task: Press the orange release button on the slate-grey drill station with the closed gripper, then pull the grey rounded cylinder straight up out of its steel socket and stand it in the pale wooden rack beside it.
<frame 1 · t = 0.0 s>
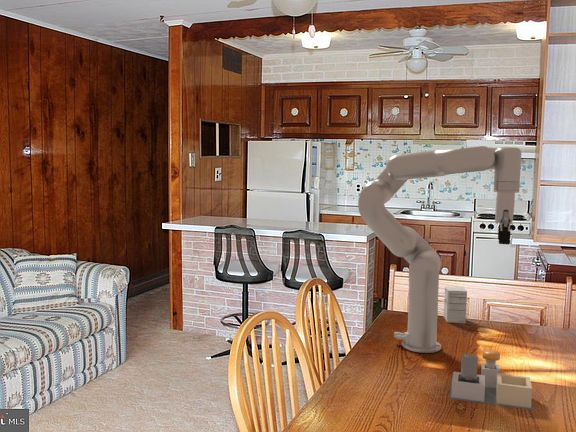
hand: (503, 241, 185), 37 cm above the table, tool pointing down, fingers open, 9 cm apart
grey rounded cylinder: (467, 393, 155), point 1 cm above the table, touching drill station
drill station: (489, 397, 156), on the table
release button: (490, 363, 160), point 8 cm above the table, slide at 0.0 cm
supplement box: (454, 320, 230), on the table
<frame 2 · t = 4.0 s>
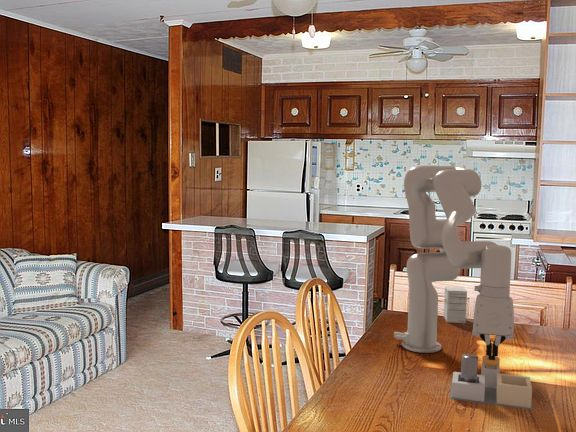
hand: (491, 358, 160), 9 cm above the table, tool pointing down, fingers closed
release button: (490, 368, 160), point 6 cm above the table, slide at 1.6 cm, touching gripper
everything else where it was.
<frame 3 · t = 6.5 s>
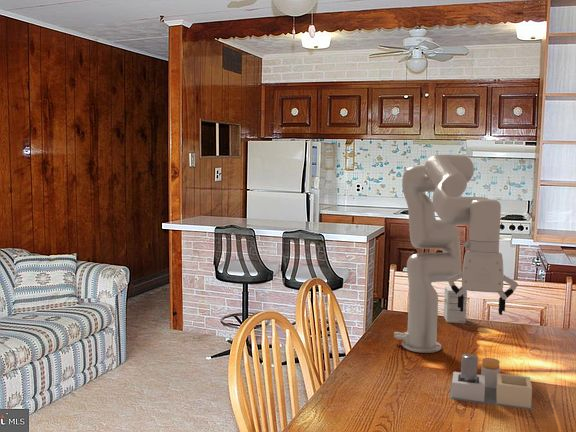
hand: (480, 312, 154), 23 cm above the table, tool pointing down, fingers open, 9 cm apart
release button: (490, 371, 161), point 5 cm above the table, slide at 2.3 cm
everything else where it was.
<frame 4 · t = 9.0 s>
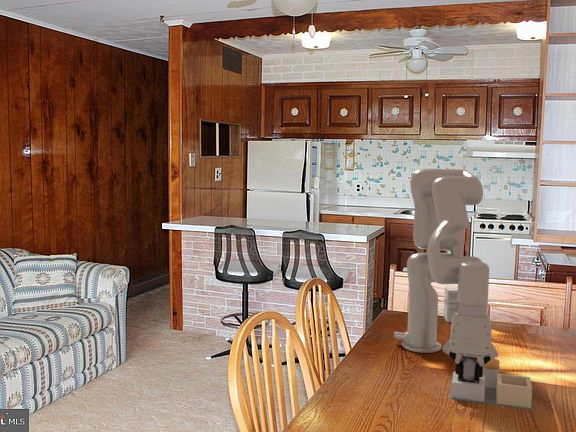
hand: (468, 377, 154), 6 cm above the table, tool pointing down, fingers closed on grey rounded cylinder, 4 cm apart
grey rounded cylinder: (467, 393, 155), point 1 cm above the table, touching drill station, gripper
everything else where it was.
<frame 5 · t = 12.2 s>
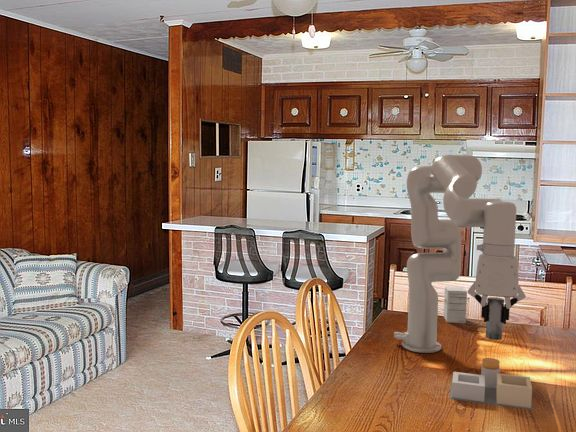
hand: (494, 320, 151), 22 cm above the table, tool pointing down, fingers closed on grey rounded cylinder, 4 cm apart
grey rounded cylinder: (493, 337, 151), point 17 cm above the table, touching gripper
everything else where it was.
when the fingers open (8 cm above the table, at t = 15.4 s): grey rounded cylinder drops 2 cm, resting on drill station.
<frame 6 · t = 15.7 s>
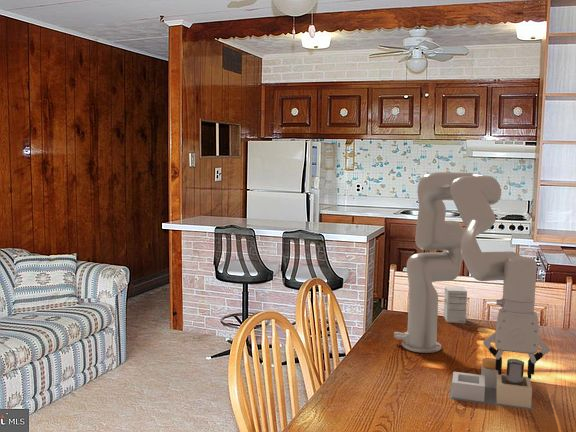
hand: (514, 374, 151), 8 cm above the table, tool pointing down, fingers open, 6 cm apart
grey rounded cylinder: (512, 399, 151), point 2 cm above the table, touching drill station
everything else where it was.
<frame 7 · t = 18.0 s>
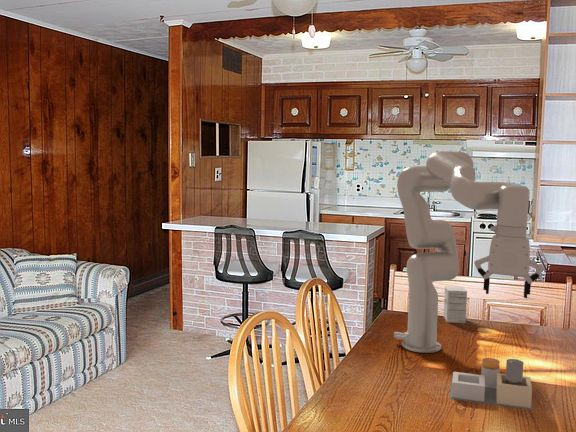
hand: (506, 294, 159), 26 cm above the table, tool pointing down, fingers open, 9 cm apart
nothing on the table moved.
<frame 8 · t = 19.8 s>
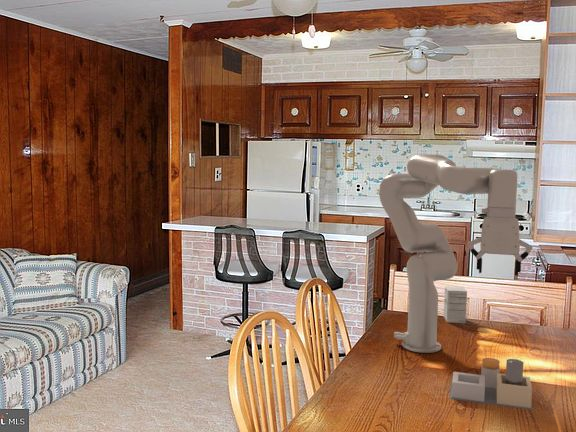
hand: (498, 273, 168), 30 cm above the table, tool pointing down, fingers open, 9 cm apart
nothing on the table moved.
at the end: grey rounded cylinder 0.0 cm from the target spot on the drill station, point 1.5 cm above the drill station's base; grey rounded cylinder tilted 0°; release button slide at 2.3 cm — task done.
